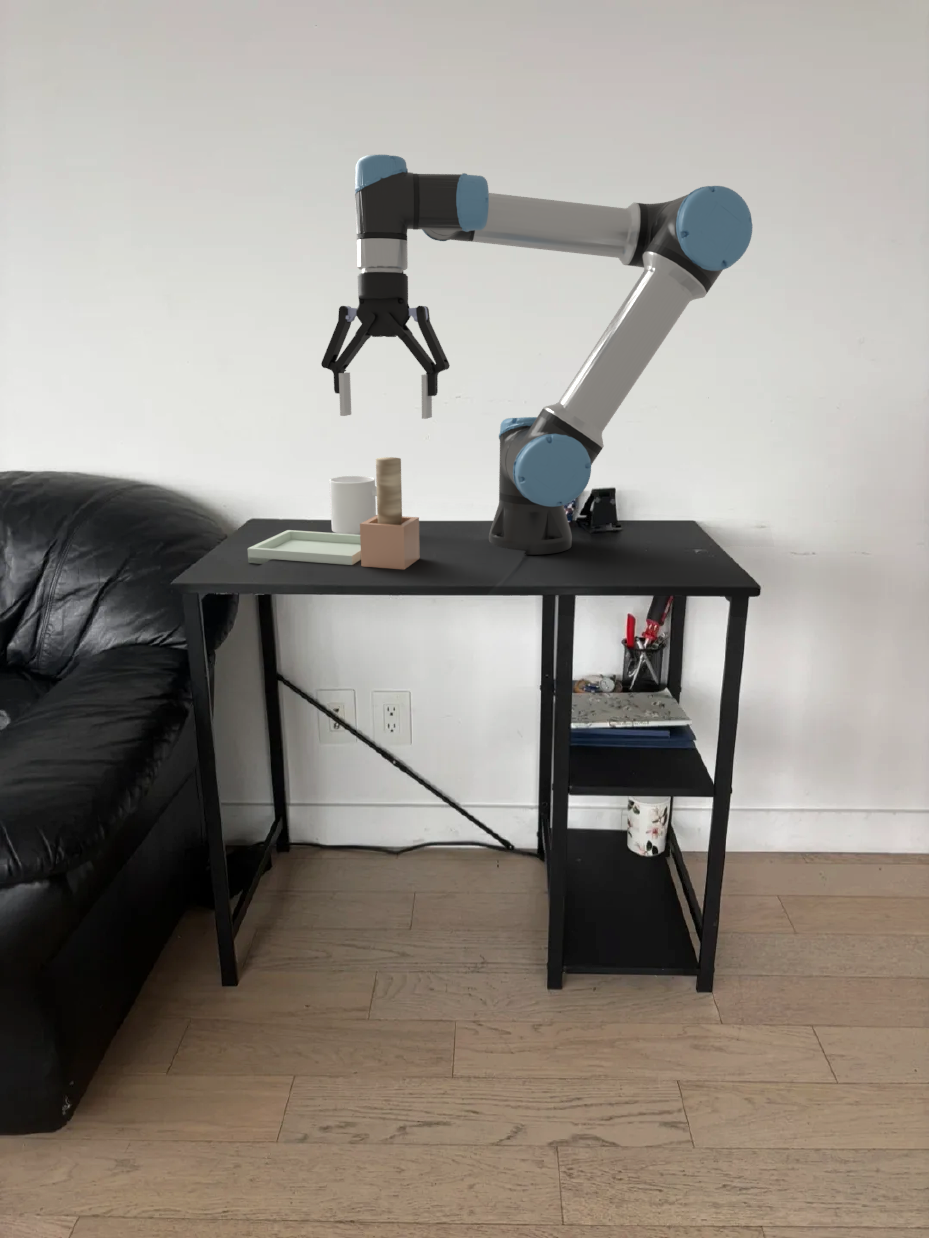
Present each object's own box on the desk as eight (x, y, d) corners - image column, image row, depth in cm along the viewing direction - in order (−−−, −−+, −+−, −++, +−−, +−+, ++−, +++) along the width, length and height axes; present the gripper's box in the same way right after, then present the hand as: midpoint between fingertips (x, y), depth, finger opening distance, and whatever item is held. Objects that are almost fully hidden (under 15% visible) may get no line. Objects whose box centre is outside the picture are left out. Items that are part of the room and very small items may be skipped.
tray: (384, 549, 158) (384, 536, 157) (352, 570, 144) (351, 556, 143) (288, 543, 163) (287, 530, 162) (248, 562, 149) (247, 548, 148)
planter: (419, 563, 148) (418, 517, 146) (404, 575, 141) (403, 526, 139) (378, 560, 150) (376, 514, 148) (361, 571, 143) (359, 523, 141)
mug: (385, 541, 164) (384, 484, 161) (325, 538, 167) (322, 482, 164) (398, 531, 172) (397, 477, 169) (341, 528, 175) (338, 474, 171)
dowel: (406, 560, 147) (404, 457, 142) (398, 565, 143) (395, 461, 138) (383, 558, 148) (381, 457, 143) (375, 564, 144) (372, 460, 139)
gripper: (469, 272, 132) (468, 417, 138) (317, 274, 138) (323, 412, 145) (455, 269, 125) (455, 421, 131) (295, 271, 131) (303, 416, 138)
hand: (385, 416), depth 138 cm, fingers open, 13 cm apart
